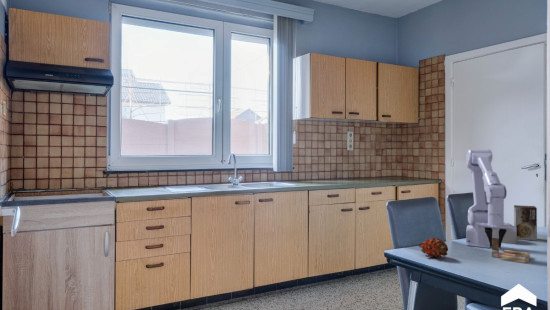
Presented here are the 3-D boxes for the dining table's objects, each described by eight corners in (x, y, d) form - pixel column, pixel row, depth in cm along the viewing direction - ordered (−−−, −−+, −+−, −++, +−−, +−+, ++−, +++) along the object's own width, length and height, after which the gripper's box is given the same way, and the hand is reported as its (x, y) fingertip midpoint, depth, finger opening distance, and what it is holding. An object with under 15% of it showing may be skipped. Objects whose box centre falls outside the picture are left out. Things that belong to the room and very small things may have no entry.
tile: (497, 258, 159) (497, 255, 159) (498, 255, 164) (498, 252, 164) (514, 260, 156) (514, 257, 156) (515, 257, 160) (515, 254, 160)
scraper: (491, 256, 160) (491, 239, 160) (492, 253, 165) (493, 237, 165) (497, 257, 159) (498, 240, 158) (499, 254, 163) (499, 237, 163)
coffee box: (534, 238, 195) (535, 205, 195) (537, 241, 189) (537, 207, 189) (513, 236, 199) (513, 204, 199) (515, 239, 193) (515, 206, 193)
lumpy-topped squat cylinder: (488, 236, 198) (488, 219, 198) (518, 240, 190) (518, 222, 190) (483, 240, 190) (483, 222, 190) (514, 244, 182) (514, 225, 182)
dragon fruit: (449, 264, 154) (420, 262, 163) (455, 248, 159) (427, 247, 168) (441, 249, 151) (412, 247, 160) (447, 233, 157) (419, 233, 165)
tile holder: (500, 259, 156) (500, 255, 156) (503, 253, 165) (503, 249, 165) (528, 263, 151) (528, 259, 151) (529, 257, 160) (529, 253, 160)
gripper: (474, 213, 163) (474, 246, 163) (515, 217, 154) (515, 251, 154) (477, 211, 168) (477, 243, 169) (516, 214, 160) (516, 247, 160)
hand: (495, 246), depth 162 cm, fingers closed on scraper, 2 cm apart
